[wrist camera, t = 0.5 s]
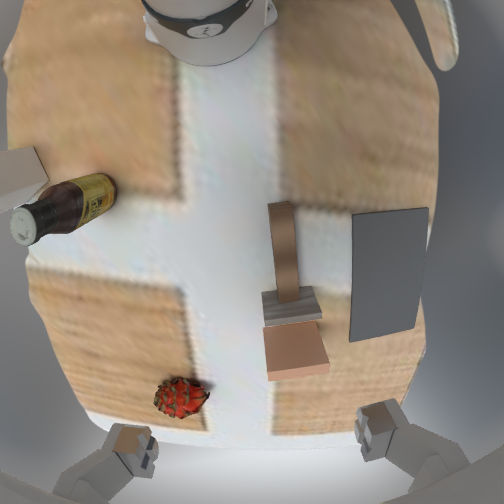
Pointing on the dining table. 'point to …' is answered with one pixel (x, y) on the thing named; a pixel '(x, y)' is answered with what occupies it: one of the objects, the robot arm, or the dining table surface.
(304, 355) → the tile
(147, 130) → the dining table surface
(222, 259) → the dining table surface
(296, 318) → the wooden post on base
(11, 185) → the milk carton
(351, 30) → the dining table surface
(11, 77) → the dining table surface
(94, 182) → the sauce bottle
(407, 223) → the mat
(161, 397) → the dragon fruit
